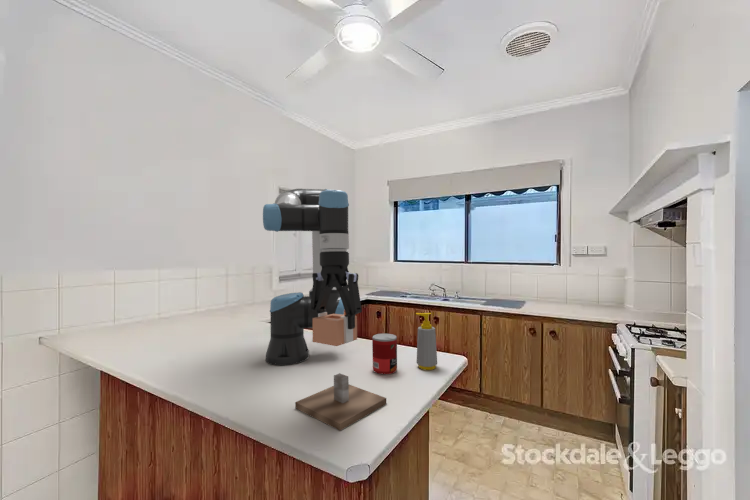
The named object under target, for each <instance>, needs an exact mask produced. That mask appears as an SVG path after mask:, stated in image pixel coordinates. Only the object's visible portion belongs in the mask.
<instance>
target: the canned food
mask: <svg viewBox="0 0 750 500" xmlns="http://www.w3.org/2000/svg"><path fill="white" fill-rule="evenodd" d="M371 339H372V347H371V349H372V370H373V372H375V373H376V374H379V375H391V374H394V373H396V372H397V369H398V338H397V335H396V334H392V333H377V334H373V335H372V338H371Z"/></svg>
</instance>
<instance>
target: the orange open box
mask: <svg viewBox="0 0 750 500" xmlns="http://www.w3.org/2000/svg"><path fill="white" fill-rule="evenodd" d="M345 315H346V314H344V315H342V314H329V315H325V316H320V317H315V318H313V328H312V343H317V344H323V345H327V346H334V347H338V346H342V345H346V343H344V316H345ZM357 318H358V316H357V315H355V328H354V329H353V341H352V342H355V341H357V340H358V319H357Z"/></svg>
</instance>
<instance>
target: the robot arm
mask: <svg viewBox="0 0 750 500" xmlns="http://www.w3.org/2000/svg"><path fill="white" fill-rule="evenodd" d="M348 195H349V194H348V193H347V192H346V191H344V190H340V189H328V188H325V189H321V188H294V189H290V190H286V191H283V192H282V193H280V194H279V195H278V196H277V197H276V198H275V201H274V203H265V204H264V205H263V207H262V208H263V209H262V225H263V228H264V230H265V231H269V232H311V242H312V243H311V245H312V246H311V247H312V249H311V250H312V288H311V289H310V290H309V291H308V296H306V295H305V296H304V293H303V292H291V293H285V294H280V295H277V296H274V297H273V298H272V299H271V300H270V306H269V307H270V308H269V309H270V310H269V312H270V313H269V314H270V339H269V342H268V346H267V348H266V353H265V362H266V363H268V364H270V365H275V366H288V365H294V364H299V363H302V362H305V361H306V360H308V359H309V358H310V357H309V356H310V355H309V353H310V352H309V351H310V350H309V347H308V345H307V342H306V338H305V335H304V334H305V333H304V329H313V318H315V317H320V316H325V315H329V314H342V315H345V316H344V343H345V344H348V343H351V342H354V341H353V329H354V328H355V316H357V315H358V314H361V313H362V311H363V309H362V303H361V296H360V291H359V289H360V288H359V284H358V283H359V273H357V272H355V273H352V272H350V271H349V268H348V267H349V265H350V253H349V251H347V250H349V249H350V238H349V237H350V236H349V233H350V232H349V206H350V204H349V196H348ZM344 313H345V314H344Z"/></svg>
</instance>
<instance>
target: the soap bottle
mask: <svg viewBox="0 0 750 500" xmlns="http://www.w3.org/2000/svg"><path fill="white" fill-rule="evenodd" d="M431 314H432V313H431V312H422V313H421V312H416V313H415V315H417V316H421V317H423V318H424V320H423V321H422V324H420V326H418V328H417V337H416V339H417V341H416V343H417V344H416V364H417V366H418V368H419V369H420V370H424V371H432V370H434V369H436V366H437V365H438V353H437V334H436V328H435V327H434V326H432V325H433V324H431V321H430V320H429V315H431Z"/></svg>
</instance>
